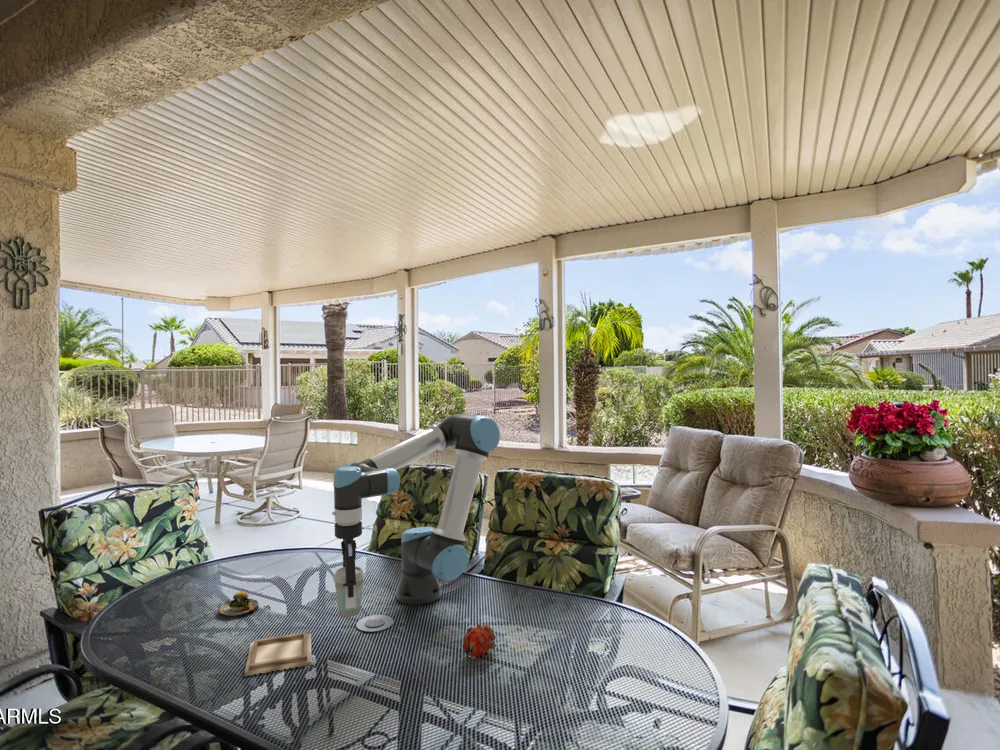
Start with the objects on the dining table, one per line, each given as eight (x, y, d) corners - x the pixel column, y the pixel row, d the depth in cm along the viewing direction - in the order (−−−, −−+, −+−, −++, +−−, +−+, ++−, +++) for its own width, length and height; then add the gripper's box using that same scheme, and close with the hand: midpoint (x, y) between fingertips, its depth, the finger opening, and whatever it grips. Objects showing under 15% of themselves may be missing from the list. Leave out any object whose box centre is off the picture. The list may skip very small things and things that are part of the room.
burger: (209, 615, 172) (209, 592, 172) (240, 601, 183) (239, 579, 183) (237, 622, 167) (237, 598, 167) (267, 607, 178) (267, 584, 178)
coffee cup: (356, 620, 150) (356, 577, 150) (328, 618, 151) (327, 575, 151) (370, 607, 158) (369, 566, 158) (343, 604, 160) (342, 564, 160)
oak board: (311, 636, 158) (311, 630, 158) (311, 665, 143) (311, 657, 143) (251, 646, 153) (250, 639, 153) (244, 676, 138) (244, 668, 137)
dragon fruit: (492, 650, 153) (471, 677, 143) (470, 628, 156) (448, 654, 145) (507, 632, 150) (486, 658, 140) (484, 610, 153) (462, 634, 142)
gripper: (332, 513, 163) (334, 588, 164) (336, 534, 143) (337, 619, 143) (358, 511, 166) (359, 584, 166) (365, 531, 145) (366, 614, 146)
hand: (349, 600), depth 155 cm, fingers closed on coffee cup, 9 cm apart
